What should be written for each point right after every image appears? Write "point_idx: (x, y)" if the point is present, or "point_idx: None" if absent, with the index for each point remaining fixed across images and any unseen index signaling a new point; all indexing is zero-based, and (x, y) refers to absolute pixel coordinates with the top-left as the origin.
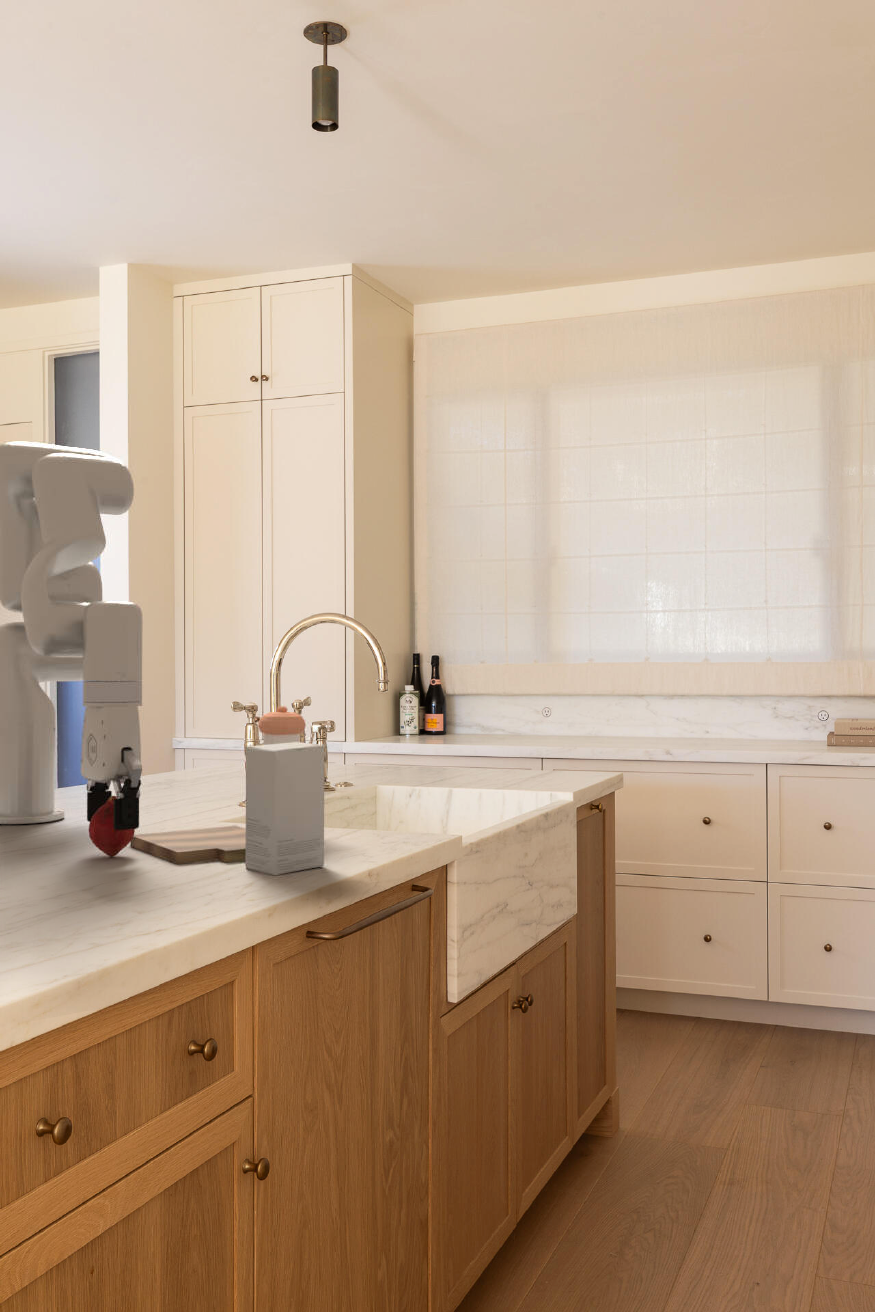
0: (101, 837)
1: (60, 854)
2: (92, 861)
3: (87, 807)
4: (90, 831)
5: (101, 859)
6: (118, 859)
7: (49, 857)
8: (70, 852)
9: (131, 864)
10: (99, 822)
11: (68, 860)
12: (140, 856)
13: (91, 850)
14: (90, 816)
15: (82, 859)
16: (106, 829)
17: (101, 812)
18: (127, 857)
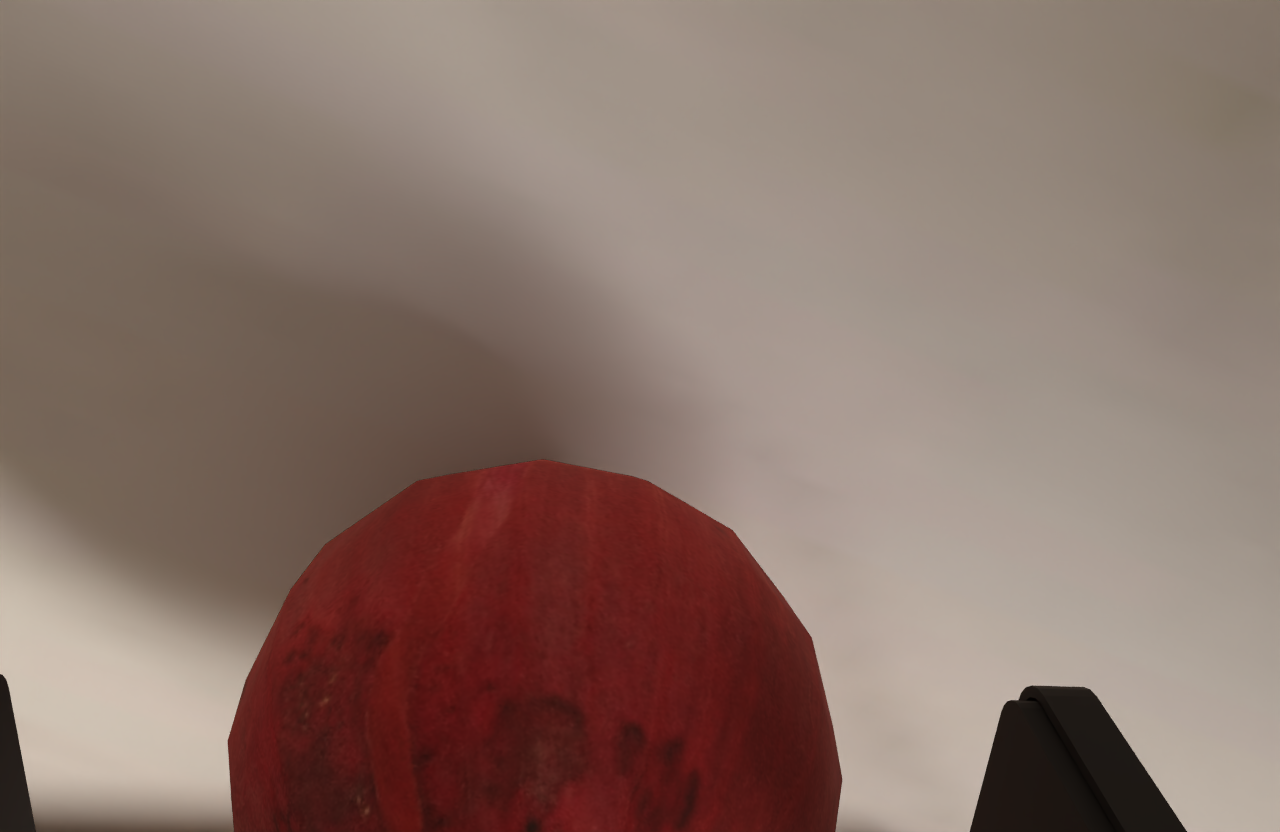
0: (357, 530)
1: (1052, 213)
2: (419, 320)
3: (1167, 828)
4: (539, 494)
5: (478, 434)
6: None
7: (968, 32)
8: (1081, 345)
9: (43, 548)
10: (357, 636)
11: (637, 136)
12: None
13: (1025, 546)
14: (1037, 746)
15: (599, 283)
16: (281, 634)
17: (416, 790)
18: None
